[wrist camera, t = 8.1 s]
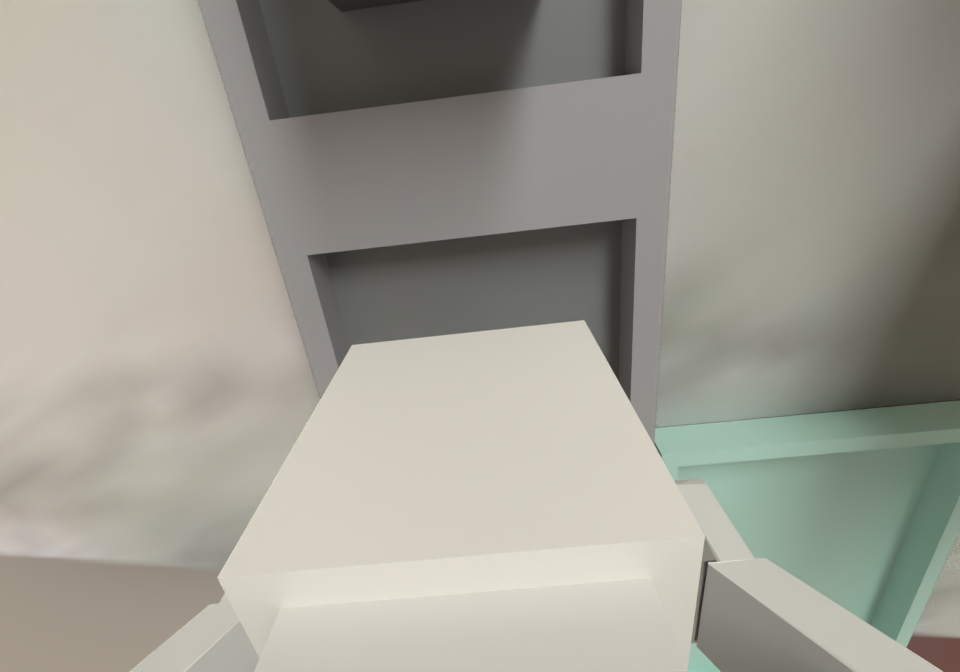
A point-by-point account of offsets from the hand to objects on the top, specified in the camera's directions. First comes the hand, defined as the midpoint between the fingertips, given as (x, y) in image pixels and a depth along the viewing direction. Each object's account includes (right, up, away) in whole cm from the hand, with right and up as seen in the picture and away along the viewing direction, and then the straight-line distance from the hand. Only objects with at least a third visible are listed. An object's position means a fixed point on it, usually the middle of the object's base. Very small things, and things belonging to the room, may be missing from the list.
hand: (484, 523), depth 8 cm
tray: (+13, -7, +12) cm, 19 cm away
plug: (0, +1, +2) cm, 2 cm away
